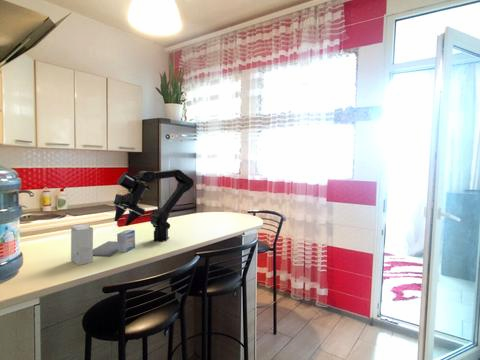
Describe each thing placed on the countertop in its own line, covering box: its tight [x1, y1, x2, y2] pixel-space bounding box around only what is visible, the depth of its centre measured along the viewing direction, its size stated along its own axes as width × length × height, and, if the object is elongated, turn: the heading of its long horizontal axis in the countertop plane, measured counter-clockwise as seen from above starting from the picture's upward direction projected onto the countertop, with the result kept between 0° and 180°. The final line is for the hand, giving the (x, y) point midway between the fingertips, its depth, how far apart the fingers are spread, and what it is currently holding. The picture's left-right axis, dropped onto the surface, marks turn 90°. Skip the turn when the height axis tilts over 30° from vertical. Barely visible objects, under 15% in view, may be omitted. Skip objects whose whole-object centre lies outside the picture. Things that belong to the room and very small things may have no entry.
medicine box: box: [116, 229, 136, 253], centre depth 134 cm, size 8×4×9 cm, turn 170°
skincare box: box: [70, 224, 94, 266], centre depth 118 cm, size 8×6×15 cm
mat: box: [93, 240, 119, 257], centre depth 135 cm, size 12×20×1 cm, turn 175°
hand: (120, 223), depth 135 cm, fingers open, 9 cm apart
